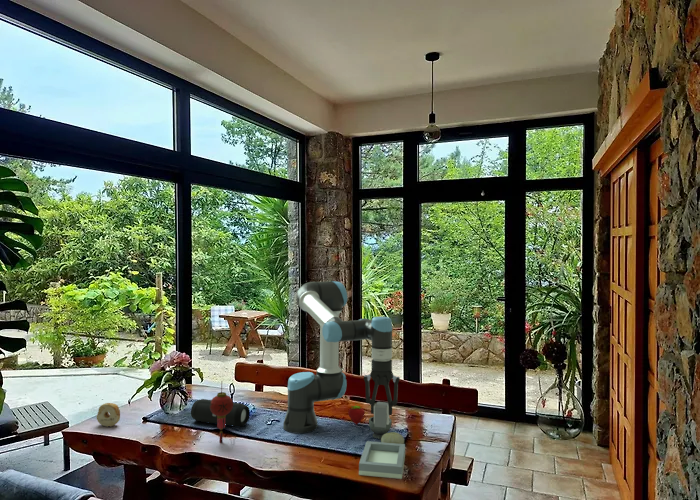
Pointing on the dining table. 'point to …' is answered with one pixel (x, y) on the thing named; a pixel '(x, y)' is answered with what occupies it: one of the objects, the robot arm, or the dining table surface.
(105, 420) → the stone disc
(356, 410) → the decorative fruit
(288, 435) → the dining table surface
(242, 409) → the portable speaker
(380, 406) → the grey upright block
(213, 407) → the lantern
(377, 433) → the mortar and pestle
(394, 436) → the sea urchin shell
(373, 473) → the grey rectangular tray
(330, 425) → the dining table surface
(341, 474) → the dining table surface
